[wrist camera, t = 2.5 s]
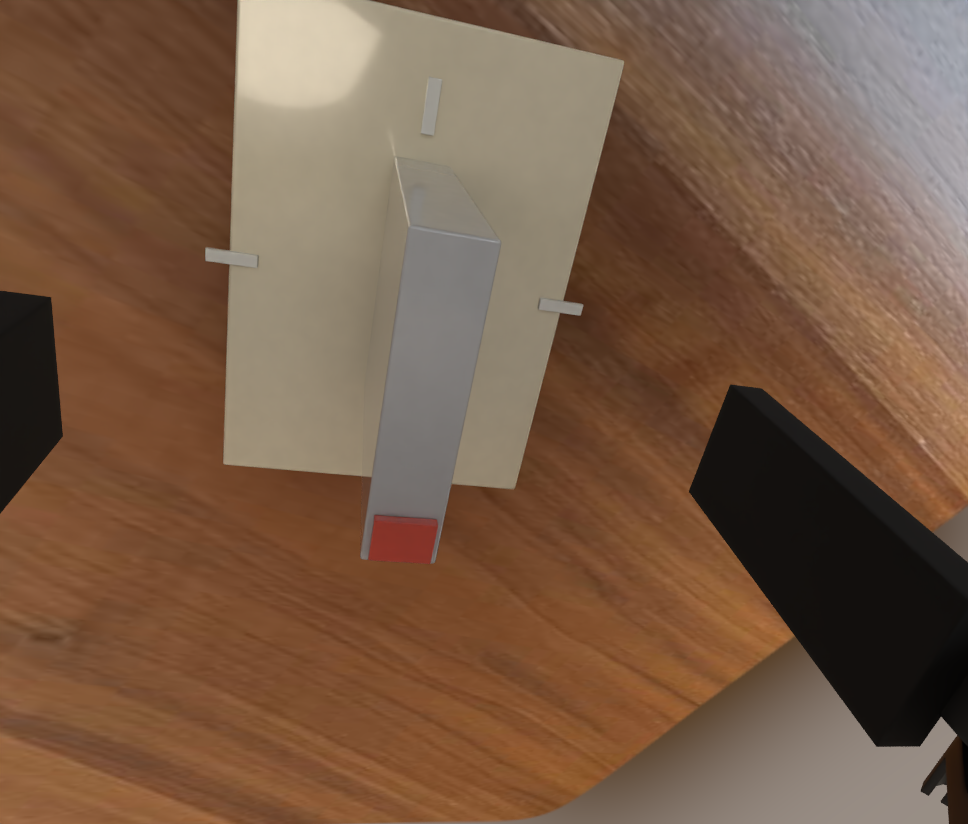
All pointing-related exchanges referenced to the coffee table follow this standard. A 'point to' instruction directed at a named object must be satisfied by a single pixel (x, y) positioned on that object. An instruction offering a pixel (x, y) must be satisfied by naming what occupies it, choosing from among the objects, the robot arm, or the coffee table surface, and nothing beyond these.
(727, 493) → the robot arm
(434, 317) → the grey flat rectangular block
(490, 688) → the coffee table surface
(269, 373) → the base
